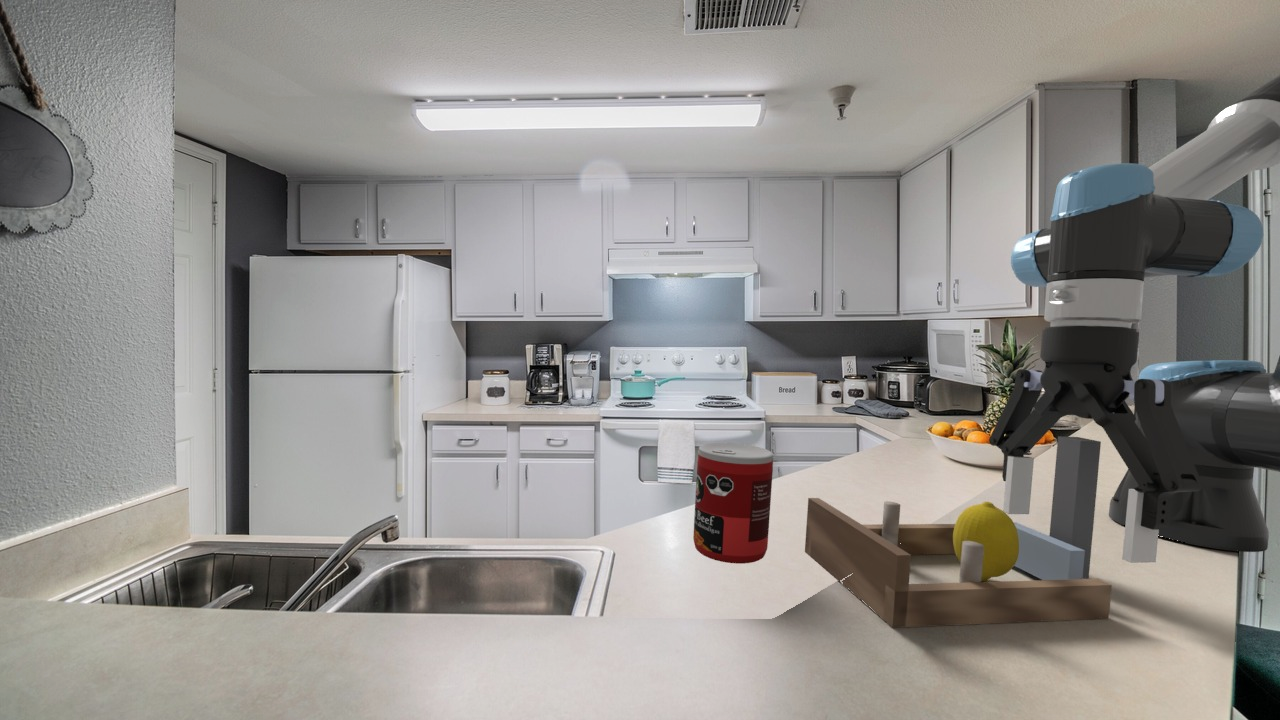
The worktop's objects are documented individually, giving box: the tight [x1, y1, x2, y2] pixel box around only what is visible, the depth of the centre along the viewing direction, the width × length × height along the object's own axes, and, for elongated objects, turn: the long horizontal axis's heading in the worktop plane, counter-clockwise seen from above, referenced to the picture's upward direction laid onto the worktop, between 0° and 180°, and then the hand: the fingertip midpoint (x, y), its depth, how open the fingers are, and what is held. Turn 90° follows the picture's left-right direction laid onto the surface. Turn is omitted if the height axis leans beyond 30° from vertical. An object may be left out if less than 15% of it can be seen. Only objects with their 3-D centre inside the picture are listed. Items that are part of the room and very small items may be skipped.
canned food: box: [692, 442, 774, 565], centre depth 58 cm, size 8×8×11 cm
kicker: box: [1013, 436, 1102, 580], centre depth 54 cm, size 6×8×14 cm
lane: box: [804, 497, 1113, 629], centre depth 52 cm, size 21×15×6 cm
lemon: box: [953, 501, 1019, 582], centre depth 53 cm, size 6×6×8 cm
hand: (1070, 534), depth 55 cm, fingers open, 12 cm apart
